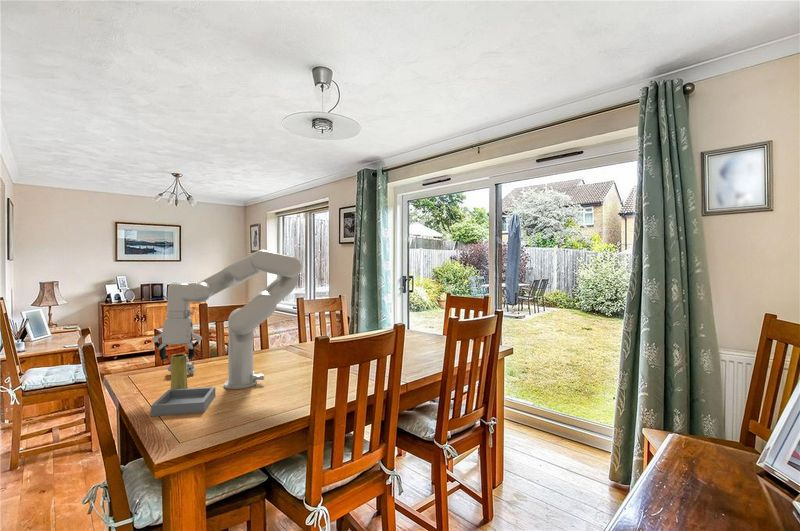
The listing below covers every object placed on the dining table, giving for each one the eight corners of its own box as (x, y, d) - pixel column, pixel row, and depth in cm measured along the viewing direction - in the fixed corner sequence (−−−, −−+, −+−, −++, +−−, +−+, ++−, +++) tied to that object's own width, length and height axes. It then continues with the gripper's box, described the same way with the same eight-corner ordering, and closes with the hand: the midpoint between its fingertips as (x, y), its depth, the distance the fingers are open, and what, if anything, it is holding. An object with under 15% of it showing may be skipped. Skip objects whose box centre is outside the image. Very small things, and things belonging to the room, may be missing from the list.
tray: (215, 396, 145) (215, 386, 145) (203, 412, 130) (204, 402, 130) (168, 399, 142) (168, 389, 142) (150, 416, 126) (150, 405, 126)
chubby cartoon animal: (184, 383, 168) (190, 365, 167) (164, 370, 171) (169, 353, 170) (197, 378, 175) (202, 361, 174) (177, 366, 178) (182, 349, 177)
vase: (179, 395, 146) (179, 357, 146) (165, 393, 147) (165, 356, 147) (191, 389, 152) (191, 353, 152) (178, 388, 153) (178, 353, 153)
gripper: (205, 313, 155) (203, 355, 155) (157, 313, 151) (155, 356, 151) (199, 316, 148) (198, 360, 148) (149, 316, 144) (147, 361, 144)
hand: (176, 358), depth 149 cm, fingers open, 9 cm apart
